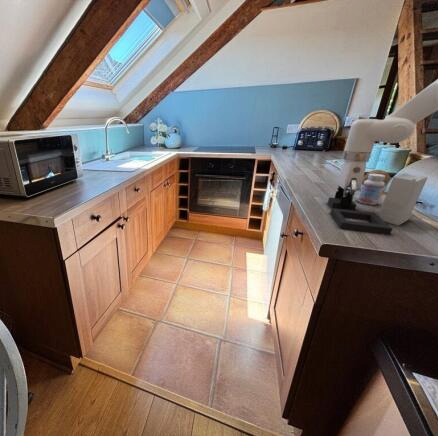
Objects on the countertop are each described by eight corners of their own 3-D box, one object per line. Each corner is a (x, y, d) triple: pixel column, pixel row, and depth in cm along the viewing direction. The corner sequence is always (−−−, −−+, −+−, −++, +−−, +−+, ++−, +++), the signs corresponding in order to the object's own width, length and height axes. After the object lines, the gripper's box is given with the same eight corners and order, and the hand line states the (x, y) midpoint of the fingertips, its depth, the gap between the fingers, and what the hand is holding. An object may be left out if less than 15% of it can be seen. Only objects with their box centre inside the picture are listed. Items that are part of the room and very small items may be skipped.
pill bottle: (353, 201, 99) (362, 173, 95) (364, 199, 101) (373, 172, 96) (370, 206, 94) (380, 177, 89) (381, 204, 95) (391, 175, 91)
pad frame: (372, 218, 83) (374, 212, 82) (390, 234, 71) (392, 228, 70) (330, 213, 87) (331, 208, 86) (340, 228, 75) (341, 222, 75)
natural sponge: (357, 191, 111) (364, 170, 107) (359, 187, 117) (365, 167, 113) (384, 195, 105) (392, 172, 101) (384, 191, 111) (392, 169, 108)
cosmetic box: (386, 215, 85) (402, 172, 79) (409, 220, 80) (429, 176, 74) (375, 219, 81) (391, 175, 75) (399, 226, 76) (419, 179, 70)
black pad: (349, 205, 94) (350, 199, 93) (354, 211, 89) (356, 204, 88) (327, 203, 97) (329, 197, 96) (331, 208, 91) (333, 202, 90)
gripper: (379, 161, 77) (361, 213, 84) (360, 153, 91) (346, 198, 98) (349, 159, 80) (334, 210, 87) (336, 153, 94) (324, 196, 101)
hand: (341, 203), depth 92 cm, fingers closed on black pad, 7 cm apart
